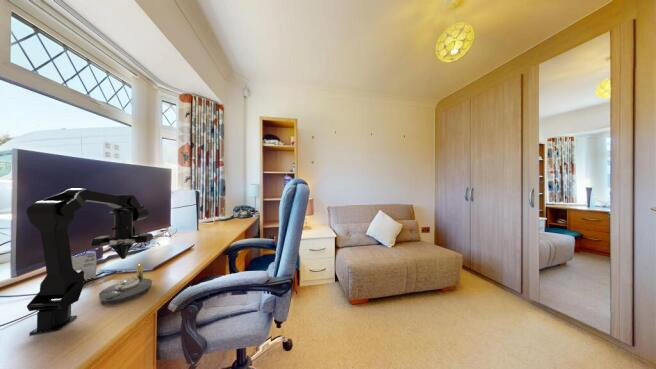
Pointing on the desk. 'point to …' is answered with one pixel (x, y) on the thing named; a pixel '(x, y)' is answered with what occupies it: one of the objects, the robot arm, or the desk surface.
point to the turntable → (112, 295)
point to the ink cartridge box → (85, 264)
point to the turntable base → (125, 299)
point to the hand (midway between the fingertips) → (123, 258)
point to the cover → (126, 284)
